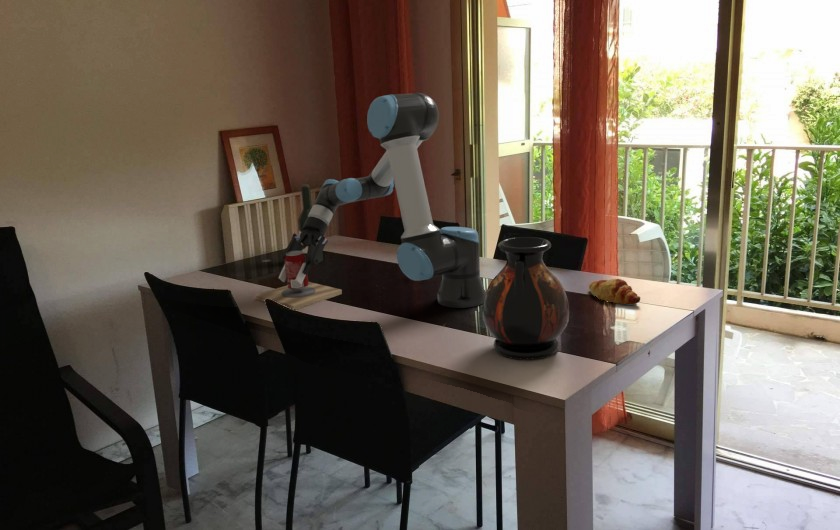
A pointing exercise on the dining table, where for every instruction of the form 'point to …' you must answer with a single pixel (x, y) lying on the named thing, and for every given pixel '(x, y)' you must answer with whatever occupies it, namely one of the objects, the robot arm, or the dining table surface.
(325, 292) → the oak board
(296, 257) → the soda can
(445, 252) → the robot arm
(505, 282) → the ceramic vase
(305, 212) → the wine bottle
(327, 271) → the dining table surface
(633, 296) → the croissant
